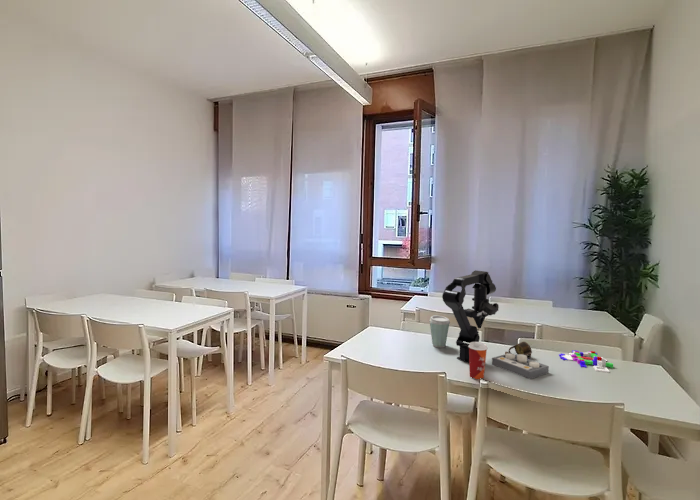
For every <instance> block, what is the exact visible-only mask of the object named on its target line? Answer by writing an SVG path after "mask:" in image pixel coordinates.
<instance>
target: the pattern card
mask: <svg viewBox="0 0 700 500" xmlns="http://www.w3.org/2000/svg"><path fill="white" fill-rule="evenodd" d="M497 359H498V360H501V361H504V362H507V363H509V364H512V365H515V366H517V367H520V368H523V369H526V370H529V369H532V367H529V366H526V365H523V364H521V363H518V362H515V361H512V360H509V359H507V358H504V357H500V358H497Z"/></svg>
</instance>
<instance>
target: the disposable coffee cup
mask: <svg viewBox="0 0 700 500" xmlns="http://www.w3.org/2000/svg"><path fill="white" fill-rule="evenodd" d="M428 321H429V326H430V327H429V328H430V334H431V335H430V336H431V343H432V346H433V347H435V348H445V347H446V344H447V339H448V332H449V328H450V324H451V320H450V319H449V317H446V316H443V315H430V318H429V320H428Z"/></svg>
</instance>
